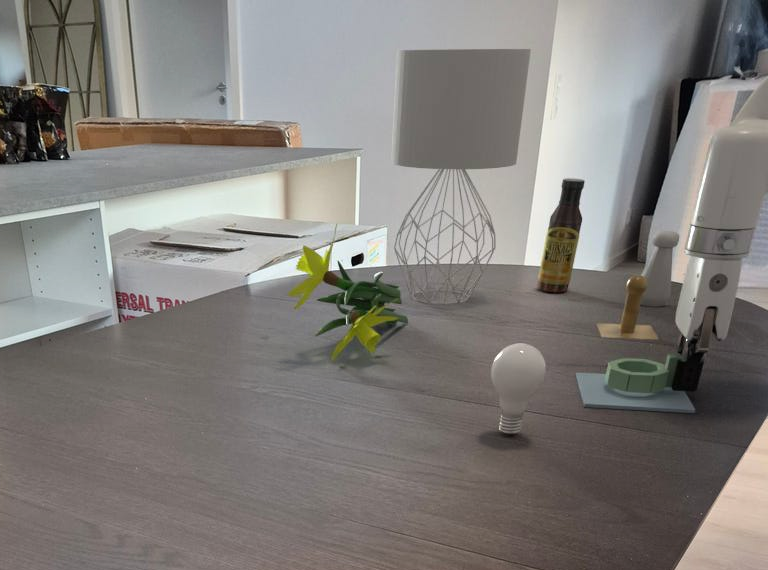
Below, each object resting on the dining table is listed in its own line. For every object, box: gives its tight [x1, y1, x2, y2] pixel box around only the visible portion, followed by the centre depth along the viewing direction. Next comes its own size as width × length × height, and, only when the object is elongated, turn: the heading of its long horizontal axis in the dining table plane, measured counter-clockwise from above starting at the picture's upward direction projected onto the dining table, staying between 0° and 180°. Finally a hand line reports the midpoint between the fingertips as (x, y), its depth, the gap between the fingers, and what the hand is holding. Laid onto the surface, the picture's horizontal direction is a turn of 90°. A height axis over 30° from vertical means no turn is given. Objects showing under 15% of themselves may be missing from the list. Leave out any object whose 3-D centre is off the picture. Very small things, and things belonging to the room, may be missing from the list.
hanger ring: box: [605, 353, 682, 393], centre depth 116 cm, size 11×8×4 cm, turn 79°
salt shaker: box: [640, 230, 680, 308], centre depth 155 cm, size 6×6×13 cm
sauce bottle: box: [536, 177, 585, 294], centre depth 165 cm, size 6×6×20 cm
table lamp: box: [390, 48, 532, 305], centre depth 155 cm, size 22×22×40 cm
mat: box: [575, 372, 696, 414], centre depth 118 cm, size 14×14×1 cm
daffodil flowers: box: [285, 223, 409, 362], centre depth 135 cm, size 17×15×35 cm
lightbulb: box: [490, 342, 547, 437], centre depth 102 cm, size 6×6×11 cm
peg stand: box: [596, 274, 660, 341], centre depth 140 cm, size 9×9×10 cm
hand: (682, 386), depth 116 cm, fingers closed on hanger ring
